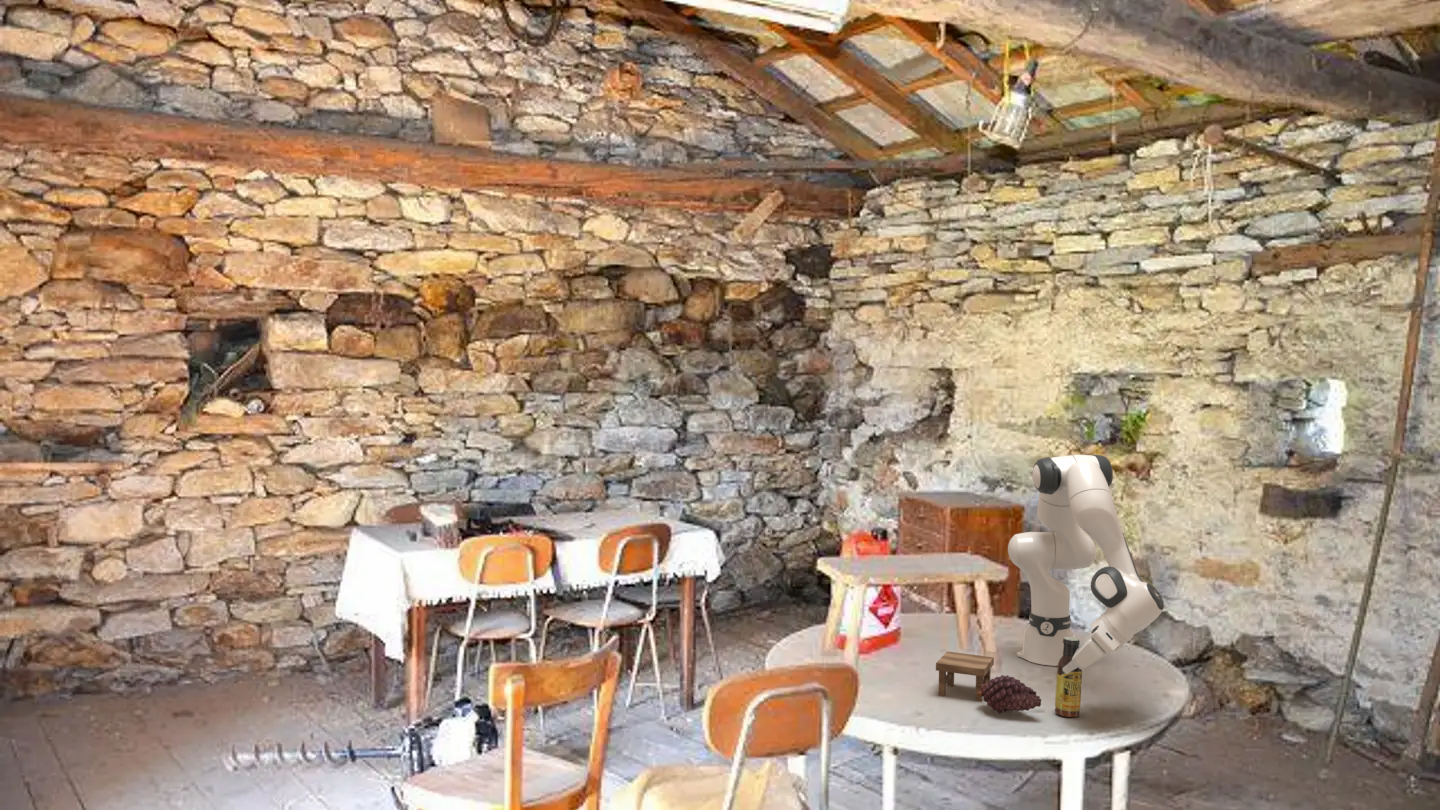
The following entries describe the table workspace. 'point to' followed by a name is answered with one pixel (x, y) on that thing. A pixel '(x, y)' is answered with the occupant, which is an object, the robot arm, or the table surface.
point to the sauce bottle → (1068, 682)
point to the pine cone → (1008, 695)
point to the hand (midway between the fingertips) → (1066, 666)
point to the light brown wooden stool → (963, 670)
